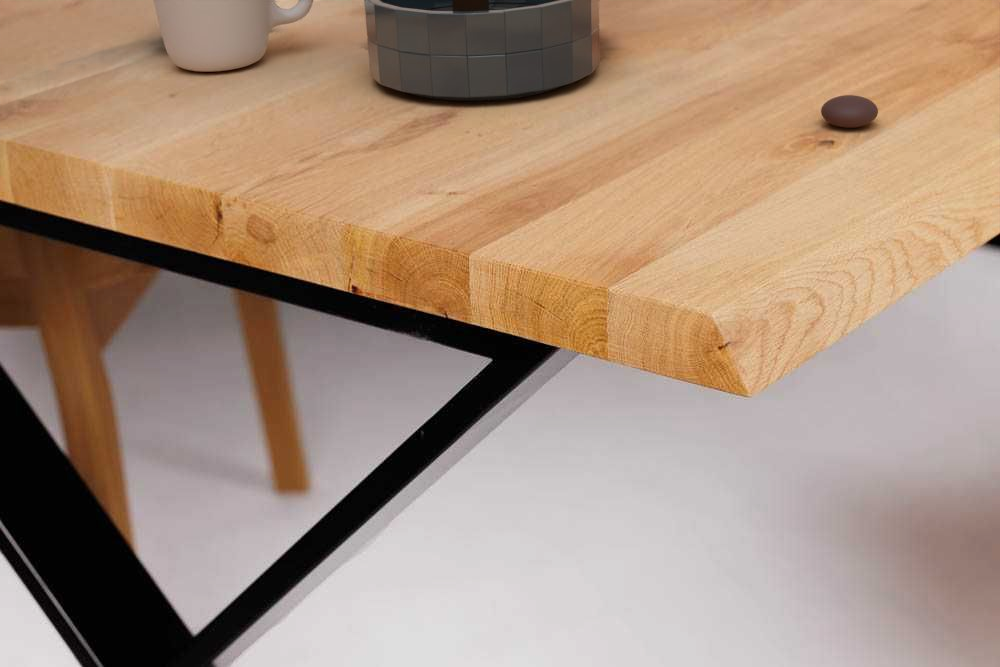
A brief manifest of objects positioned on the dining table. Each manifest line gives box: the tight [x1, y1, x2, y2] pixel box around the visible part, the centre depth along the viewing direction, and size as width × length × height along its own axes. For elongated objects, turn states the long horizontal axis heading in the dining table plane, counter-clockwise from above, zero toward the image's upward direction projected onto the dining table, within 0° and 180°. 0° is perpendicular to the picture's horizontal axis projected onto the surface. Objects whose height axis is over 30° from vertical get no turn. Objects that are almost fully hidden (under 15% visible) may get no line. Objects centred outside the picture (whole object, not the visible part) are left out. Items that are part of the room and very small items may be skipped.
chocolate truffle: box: [820, 94, 879, 129], centre depth 78 cm, size 3×3×2 cm
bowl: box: [363, 0, 601, 102], centre depth 89 cm, size 14×14×6 cm
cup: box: [153, 0, 314, 73], centre depth 95 cm, size 11×8×8 cm
